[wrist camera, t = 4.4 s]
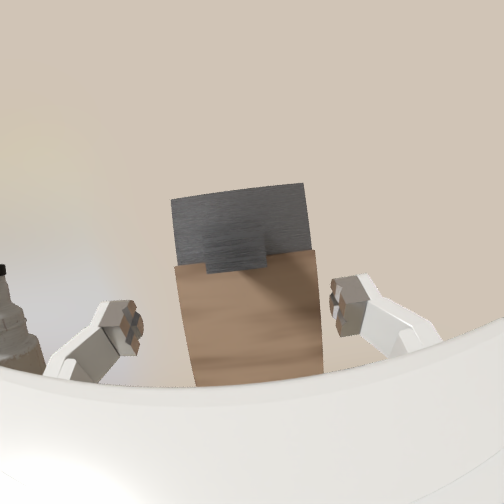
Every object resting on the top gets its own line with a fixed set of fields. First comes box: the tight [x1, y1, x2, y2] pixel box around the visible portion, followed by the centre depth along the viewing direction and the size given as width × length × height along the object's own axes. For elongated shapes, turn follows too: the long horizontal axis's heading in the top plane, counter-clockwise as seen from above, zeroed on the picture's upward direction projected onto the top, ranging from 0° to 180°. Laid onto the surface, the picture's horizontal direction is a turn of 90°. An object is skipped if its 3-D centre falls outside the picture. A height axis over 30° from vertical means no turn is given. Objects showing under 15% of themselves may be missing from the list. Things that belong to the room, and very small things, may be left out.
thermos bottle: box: [0, 264, 46, 375], centre depth 12 cm, size 8×8×28 cm
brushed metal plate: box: [171, 183, 312, 274], centre depth 18 cm, size 13×10×5 cm
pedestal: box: [174, 250, 324, 387], centre depth 23 cm, size 6×10×26 cm, turn 90°
